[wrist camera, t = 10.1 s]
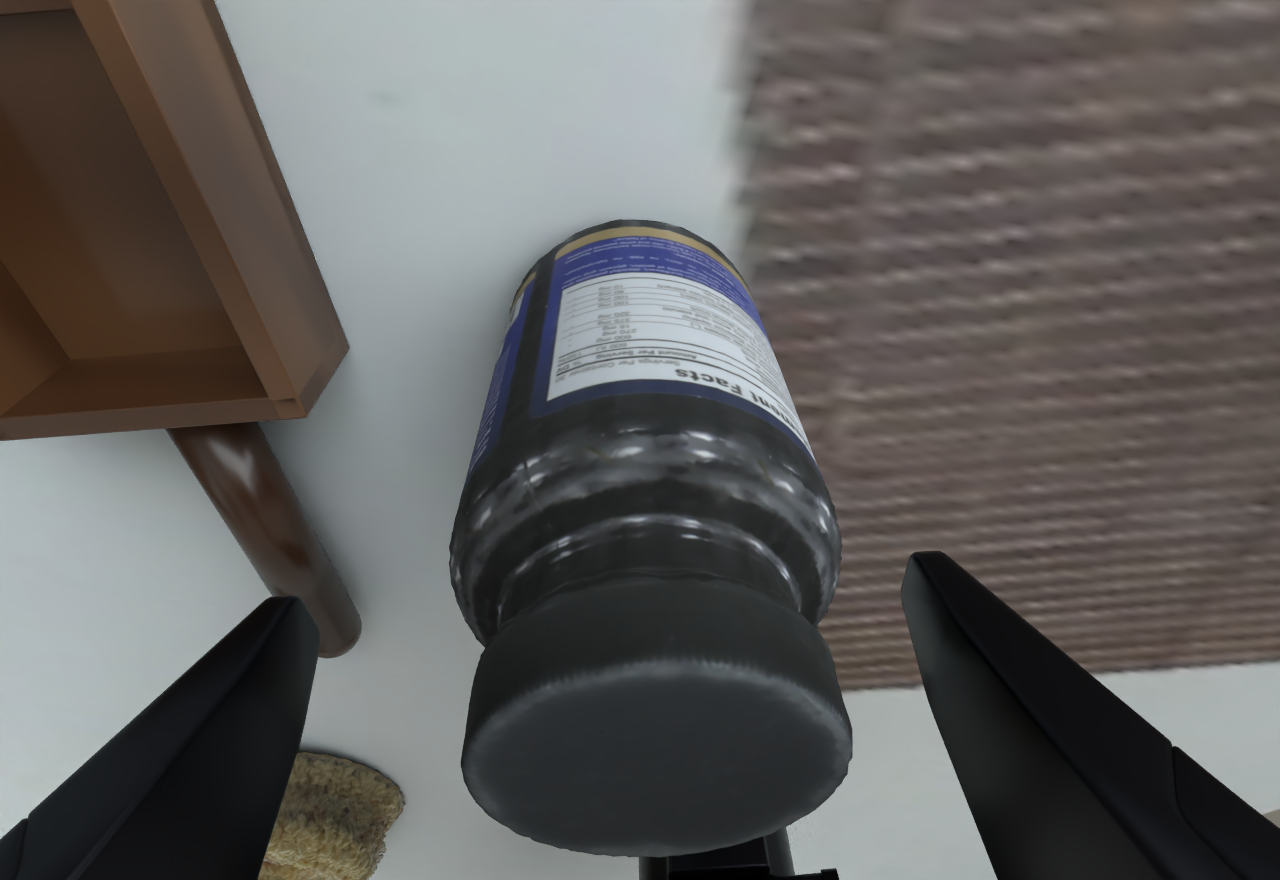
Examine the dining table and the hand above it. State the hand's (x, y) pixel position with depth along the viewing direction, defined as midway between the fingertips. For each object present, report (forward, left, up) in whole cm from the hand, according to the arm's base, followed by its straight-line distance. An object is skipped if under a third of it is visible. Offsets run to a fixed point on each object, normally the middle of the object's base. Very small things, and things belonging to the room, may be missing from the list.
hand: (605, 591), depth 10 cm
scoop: (-1, +10, -8) cm, 13 cm away
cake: (-23, +17, -8) cm, 30 cm away
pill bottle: (0, -1, -9) cm, 9 cm away
